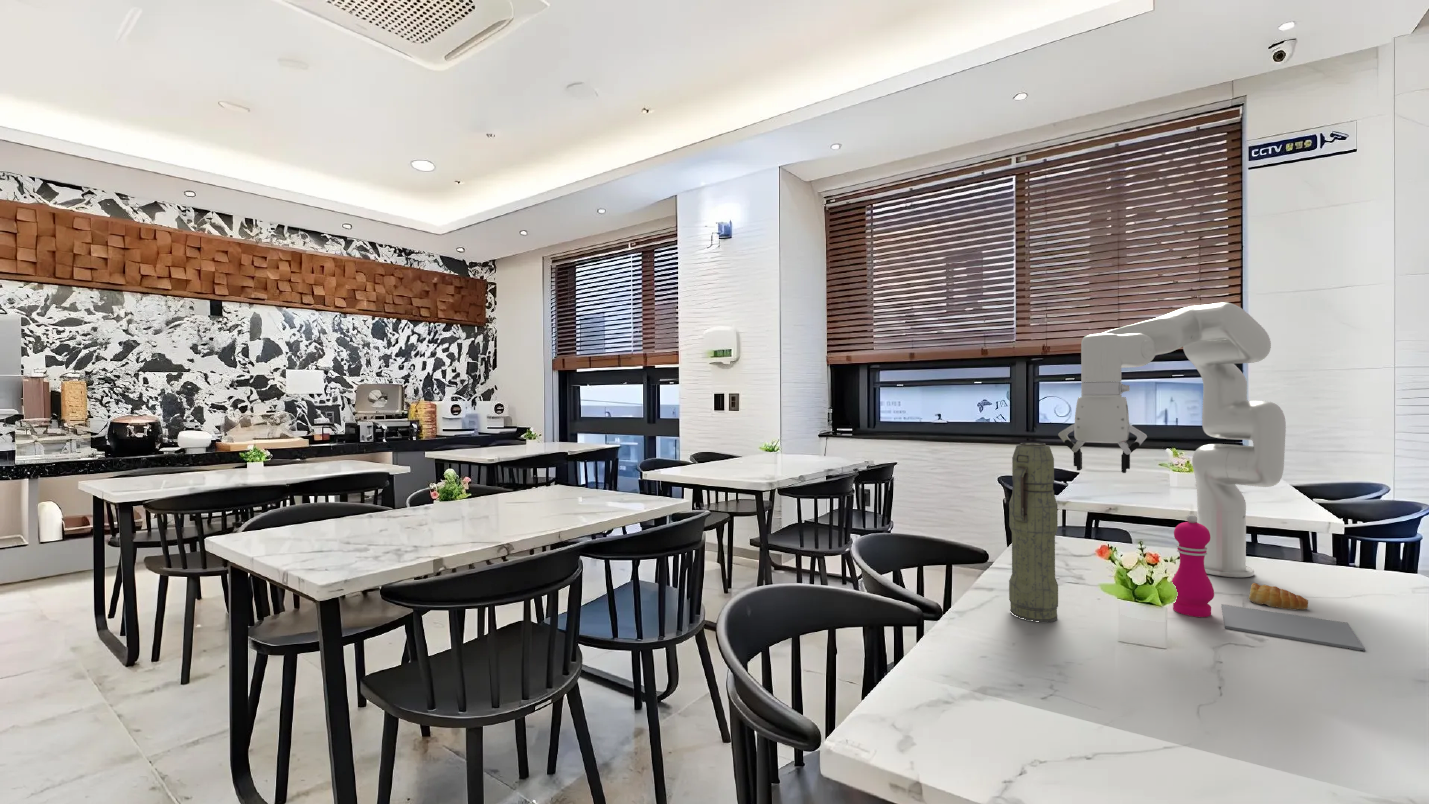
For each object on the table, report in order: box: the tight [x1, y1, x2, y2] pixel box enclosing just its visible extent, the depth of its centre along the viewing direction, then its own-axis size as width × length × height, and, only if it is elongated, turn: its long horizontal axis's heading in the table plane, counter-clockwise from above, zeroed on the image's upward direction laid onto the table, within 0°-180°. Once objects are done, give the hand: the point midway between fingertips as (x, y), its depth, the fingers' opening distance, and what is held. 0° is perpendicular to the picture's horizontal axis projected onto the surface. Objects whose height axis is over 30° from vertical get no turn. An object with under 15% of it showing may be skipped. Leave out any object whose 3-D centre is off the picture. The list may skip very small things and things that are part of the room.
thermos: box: [1008, 442, 1059, 623], centre depth 130 cm, size 9×12×35 cm
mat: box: [1221, 603, 1366, 652], centre depth 123 cm, size 15×19×1 cm
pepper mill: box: [1171, 514, 1215, 618], centre depth 131 cm, size 7×7×20 cm
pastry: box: [1247, 582, 1309, 611], centre depth 135 cm, size 9×7×4 cm
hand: (1101, 470), depth 140 cm, fingers open, 7 cm apart
